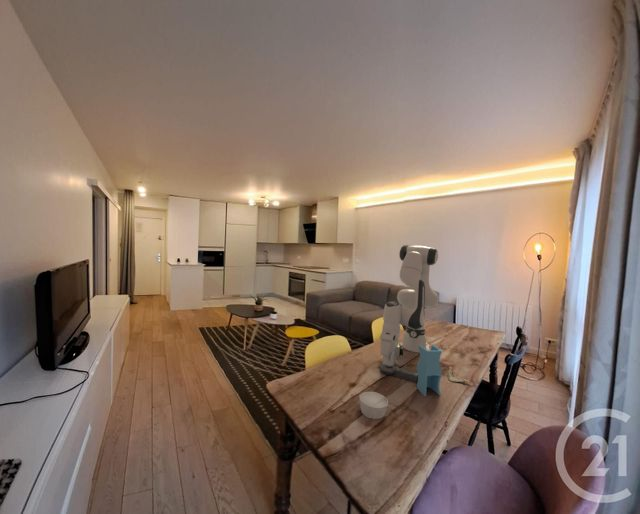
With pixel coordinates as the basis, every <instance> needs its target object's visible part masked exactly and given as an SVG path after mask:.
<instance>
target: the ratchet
mask: <svg viewBox="0 0 640 514" xmlns="http://www.w3.org/2000/svg"><path fill="white" fill-rule="evenodd" d="M380 373H381V374H382V375H385V376H388V377H398V378H401V379H405V380H409V381H412V382H416V383H418V373H417V371H412V370H407V369H404V368H400V367H398V366H397V365H396V364H394V366H389V365H386V364H383V362H382V363H381V364H380Z"/></svg>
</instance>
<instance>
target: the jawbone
mask: <svg viewBox="0 0 640 514" xmlns="http://www.w3.org/2000/svg"><path fill="white" fill-rule="evenodd" d="M453 373H454V371H453V367H452V366H450V365H449V366H448V371H446V377H447V378H448V381H449V382H452V383H461V384H463V385H465V384H466V382H467V383H468V384H469V383H470V384H471V383H472V382H471V381H470V380H468V379H465V378H458V377H455V376H454V374H453Z"/></svg>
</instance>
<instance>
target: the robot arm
mask: <svg viewBox="0 0 640 514" xmlns="http://www.w3.org/2000/svg"><path fill="white" fill-rule="evenodd" d="M398 255H399V259H400V260H401V261H402V264H401V267H400V271H399V279H400V281H401V282H402V283H403V284H404V285H405V286H406V287H409V288H410V289H409V288H404V289H400V290H399V291H398V292H397V295H396V299H397V301H395V300H394V301H393V300H391V301H387V302H386V303H385V304H384V307H383V308H384V309H383V316H382V319H383V323H382V330H381V333H380V335H379V339H380V355H381V356H382V357H383V356H385V358H386V359H385V361H387V362H389V361H390V358H389V355H390V354H391V352H392V351H393V350H394V349H395V348H396V347H397V346H398V344H400V346H401V347H403V349H404V350H407V351H409V352H414V353H420V352H419V347H418V345H420V346H422V347H423V348H425V349H426V350H430V344H429V343H428V342H427V340H428V339H427V336H426V315H425V314H426V313H425V309H426V308H428V309H429V308H430V309H431V308H436V307H437V306H438V304H439V302H440V298H439V295H438V294H437V292H435V291H434V290H433V289H432V287H431V284H430V266H434V265H436V263H437V261H438V260H439V259H438V258H439V251H438V249H436V248H435V247H429V246H425V245H409V244H405V245H403V246H401V247H400V250H399V253H398ZM400 325H401V326H405V332H404V333H403V334H402V335H403V336H402V341H401V342H400V343H399V339H400V337H401V334H400V333H401V326H400Z"/></svg>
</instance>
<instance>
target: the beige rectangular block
mask: <svg viewBox="0 0 640 514" xmlns="http://www.w3.org/2000/svg"><path fill="white" fill-rule="evenodd" d="M396 350H397V349H394V350H393V351H392V352H391V354H390V355H389V358H390V361H389V362H387V361H385V359H386V358H385V356H383V355H382V363H383V364H386V365H389V366H394V364H395V363H396V364H397V358H396ZM396 364H395V365H396Z"/></svg>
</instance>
